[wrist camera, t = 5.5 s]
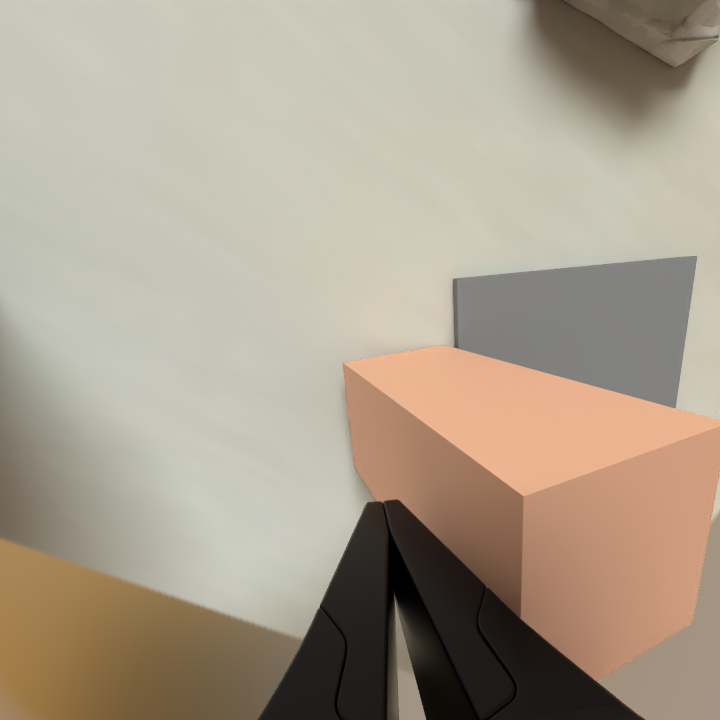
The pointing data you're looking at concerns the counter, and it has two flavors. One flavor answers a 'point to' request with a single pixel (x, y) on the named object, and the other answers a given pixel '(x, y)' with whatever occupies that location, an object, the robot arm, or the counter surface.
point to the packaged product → (659, 24)
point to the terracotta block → (545, 491)
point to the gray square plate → (585, 323)
